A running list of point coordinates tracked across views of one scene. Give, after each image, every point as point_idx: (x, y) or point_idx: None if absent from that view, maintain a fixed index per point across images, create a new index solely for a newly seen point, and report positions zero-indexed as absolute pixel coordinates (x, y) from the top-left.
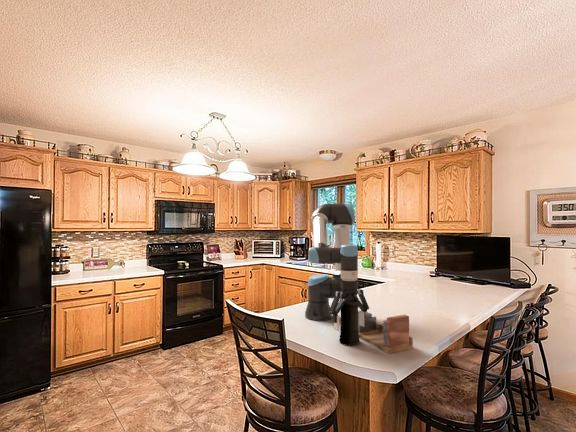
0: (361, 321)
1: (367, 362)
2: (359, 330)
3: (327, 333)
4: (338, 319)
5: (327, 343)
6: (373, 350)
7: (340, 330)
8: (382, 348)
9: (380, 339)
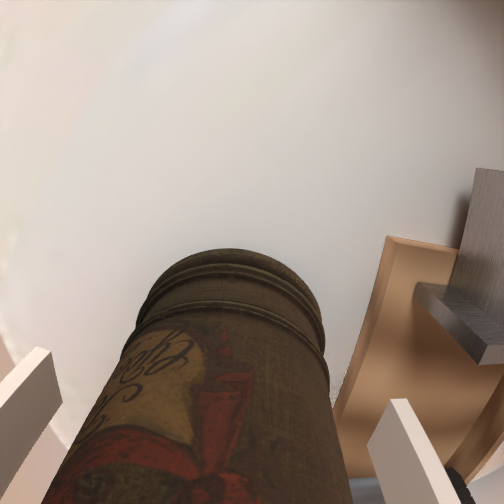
0: (390, 463)
1: None
2: (423, 302)
3: (206, 53)
4: (3, 477)
5: (64, 247)
6: None
7: (125, 345)
8: None
9: None
